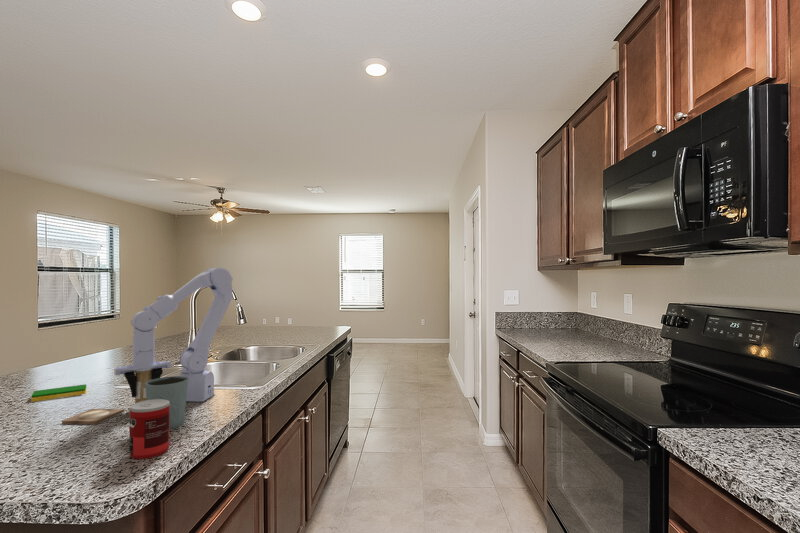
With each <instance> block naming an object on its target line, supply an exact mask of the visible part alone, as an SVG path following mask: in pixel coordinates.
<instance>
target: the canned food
mask: <svg viewBox="0 0 800 533" xmlns="http://www.w3.org/2000/svg"><path fill="white" fill-rule="evenodd" d="M169 426H170V403H169V401H168V400H164V399H153V400H146V401H141V402H138V403H135V402H134V403H133V404H132V405H130V407H129V428H128V429H129V434H128V435H129V438H128V439H129V443H128V444H129V445H128V447H129V450H128V451H129V452H128V453H129V454H130V457H131V458H132V459H135V460H145V459H146V458H147V459H152V458H156V457H158V456H161V455H163V454H165V453H166V452H167V451H168V450H169V447H170V429H169Z"/></svg>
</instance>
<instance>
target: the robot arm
mask: <svg viewBox="0 0 800 533" xmlns="http://www.w3.org/2000/svg"><path fill="white" fill-rule="evenodd" d="M208 287H209V289H210V290H211V291H212V293H213V296H214V298H213V300H212V303H211V305H210V307H209V309H208V310H207V313H206V315H205V317H204V318H203V321H202V323H201V324H200V327H199V329H198V331H197V333H196V335H195V337H194V339H193V340H191V342H190V343H189V344H188V346H187V348H186V349H185V350H184V351H183V352H181V354H180V355H179V363H180V365H181V366H182V368H181V370H180V376H183V377H187V378H188V386H187V393H186V402H198V403H199V402H201V403H202V402H205V401H207V400H209V399H210V398H212V397H213V396H215V395H216V393H215V390H214V389H215V376H214V373H213V371H208V370H206V367H207V365H208V360H209V359H208V356H209V354H210V345H211V344H212V342H213V339H214V337H215V335H216V333H217V330H218V328H219V327H220V324H221V323H222V320H223V319H224V316H225V314H226V311H227V310H228V307H229V305H230V304H231V301H232V300H233V295H234V294H233V277H232V275H231V273H230V271H229V270H228V269H226V267H225V268H224V267H210V268H207V269H206V270H205V271H202V272H201V273H199V274H197V275H196V276H194V277H193V278H192V279H191V280H189V281H188V282H187V283H185V284H184V285H183V286H181V287H180V288H178V289H177V290H176V291H175V292H174V293H172V294H164V295H163V296H162V295H159V296H157V297H156V299H157V300H155V301H154V302H152V303H151V304H150V305H148V306H144V307H143V308H142V309H143V310H142V311H138V312H136V313H135V314H134V315H133V316H132V319H131V320H130V323H131V326H132V327H133V331H132V333H133V334H132V335H133V336H132V364H130V365H125V366H120V367H114V376H120V375H123V376H124V378H125V379H126V381H127V383H128V385H129V386H128V387H129V388H130V392H131V397H132V398H135V397H136V390H135V383H136V376H135V372H136V370H141V369H149V368H152V369H151V370H152V371H151V380H153V379H157V378H161V377H162V375H163V373H164V372H163V369H171V367H172V362H171V361H169V360H166V361H157V362H156V361H155V358H156V356H155V353H156V352H155V349H156V348H155V345H156V344H155V343H156V342H155V339H156V335H155V328H156V326H157V325H158V322H161V321H163V320H164V319H165V318H166V317H168V316H169V315H170V314H172V313H173V312H174V311H176V310H177V309H178V307H179V303H180V302H182V301H183V300H185V299H186V298H187V297H189V296H190V295H192V294H193V293H195V292H197V290H199V289H201V288H208Z"/></svg>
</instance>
